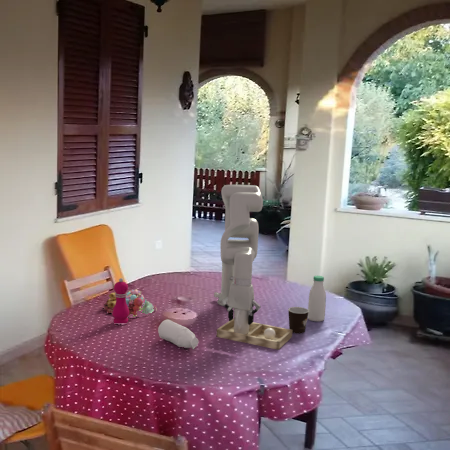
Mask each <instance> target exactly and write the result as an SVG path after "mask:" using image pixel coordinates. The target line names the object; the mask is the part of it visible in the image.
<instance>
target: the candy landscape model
mask: <svg viewBox="0 0 450 450" xmlns="http://www.w3.org/2000/svg"><path fill="white" fill-rule="evenodd" d="M115 293H116V292H111V293H110V294H108V297H109V299H107V300H106V302H105V303H104V304H103V306H102V309H103V308H104V309H103V310H106V312H108V313H112V312H113V308H114V306H115V304H116V296H115ZM126 293H127V296H126V304H127V306H128V309H129V315H130V314H133V317H135V316H137V311H141V310H143V311H142V313H145V314H148V313H152V312H153V311H154V309H155V308H156V309H157V307H156V306H157V305H156V304H154V305H153V303H151V302H150V301H148V300H147V299H146V298H145V297H144V293H142V290H138V289H132V290H127V292H126ZM143 304H144V305H143ZM141 306H143V307H142V308H141ZM153 308H154V309H153ZM108 313H107V314H108Z"/></svg>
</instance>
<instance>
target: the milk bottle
mask: <svg viewBox="0 0 450 450" xmlns="http://www.w3.org/2000/svg"><path fill="white" fill-rule="evenodd" d="M324 281H325V277H324V276H323V275H314V276H313V283H312V284H313V285H312V287H311V289H310V290H309V295H308V303H307V304H308V306H307V309H308V310H309V313H308V318H307V320H309V321H311V322H323V321H324V320H325V318H326V305H327V304H326V302H327V292H326V290H325V285H324Z"/></svg>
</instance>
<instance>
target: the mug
mask: <svg viewBox="0 0 450 450" xmlns="http://www.w3.org/2000/svg"><path fill="white" fill-rule="evenodd" d="M233 311H234V314H233V318H234V332H236V333H240V334H248V333H249V325H248V316H249V315H250V314H249V312H248V310H241V309H235V308H233Z"/></svg>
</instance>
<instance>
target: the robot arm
mask: <svg viewBox="0 0 450 450" xmlns="http://www.w3.org/2000/svg"><path fill="white" fill-rule="evenodd" d="M220 192H221V198H222V201H223V204H224V208H225V218H224V219H225V220H224V232H223V234H222V235H221V238H220V243H219V244H220V246H219V247H220V261H221V283H220V285H221V287H220V288H221V290H220V292H213V297H214V298H218V300H217V304H218V305H219V306H222V307H225V308H226V311H227V313H228V314H227V318H228V321H231V320H233V318H234V308H235V309H241V310H248V312H249V314H250V315H249V316H248V325H250V324H252V323H253V322H254V317H255V316H254V315H255V314H256V313H257V312H259V311H260V309H261V305H260V304H259V303H258V302H257V301H256V300H255V292H254V291H255V290H254V284H252V283H253V282H252V281H253V280H252V275H253V262H254V261H255V259H256V258H257V257H258V250H259V249H258V248H259V230H260V229H259V222H258V221H257V219H255V218H253V217H250V212H252V213H253V212H257V213H259V212H261V211H262V209H263V205H264V200H263V194H262V192H261V189H260V188H259V186H257V185H252V184H251V185H250V184H225V185H224V186H223V187H222V188H221V191H220ZM230 238H234V239H230ZM235 238H236V239H235ZM237 238H238V239H237ZM239 238H240V239H239ZM254 307H255V308H254Z"/></svg>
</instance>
